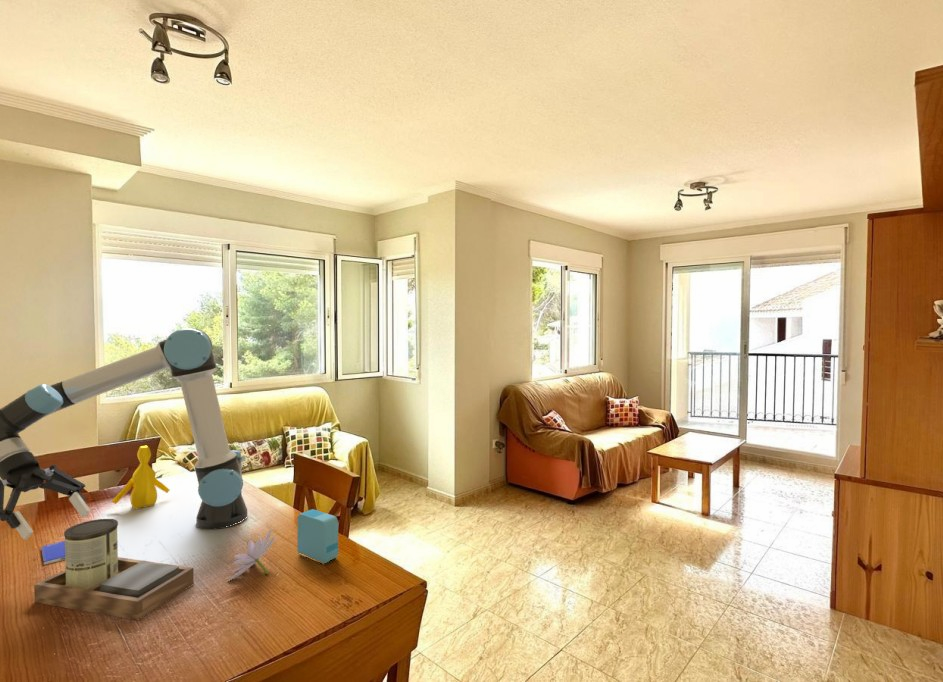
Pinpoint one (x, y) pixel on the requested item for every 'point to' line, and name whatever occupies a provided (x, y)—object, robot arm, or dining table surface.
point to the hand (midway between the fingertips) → (59, 524)
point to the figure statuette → (142, 482)
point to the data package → (317, 535)
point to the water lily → (252, 555)
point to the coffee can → (91, 553)
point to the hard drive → (53, 552)
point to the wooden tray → (120, 589)
